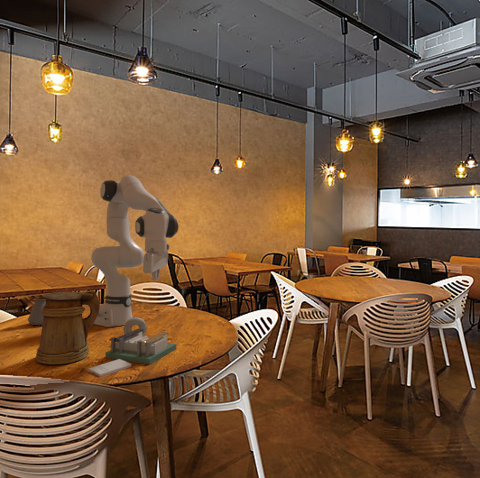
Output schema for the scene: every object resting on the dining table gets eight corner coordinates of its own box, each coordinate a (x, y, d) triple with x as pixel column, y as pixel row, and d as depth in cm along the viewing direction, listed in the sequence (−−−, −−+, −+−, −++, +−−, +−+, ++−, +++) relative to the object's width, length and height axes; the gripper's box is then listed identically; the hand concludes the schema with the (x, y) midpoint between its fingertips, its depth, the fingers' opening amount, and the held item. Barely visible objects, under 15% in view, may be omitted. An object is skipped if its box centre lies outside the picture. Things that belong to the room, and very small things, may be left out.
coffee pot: (30, 328, 197) (29, 297, 196) (26, 323, 206) (25, 293, 206) (76, 321, 210) (75, 292, 209) (70, 317, 219) (70, 289, 218)
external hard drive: (131, 368, 148) (100, 378, 138) (118, 362, 153) (87, 372, 144) (131, 363, 148) (100, 373, 138) (118, 358, 153) (87, 367, 144)
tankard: (31, 355, 159) (29, 292, 157) (92, 344, 173) (91, 285, 171) (41, 369, 144) (40, 299, 143) (107, 356, 159) (106, 292, 157)
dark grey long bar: (113, 343, 157) (113, 338, 157) (138, 332, 172) (138, 327, 172) (118, 344, 156) (118, 339, 156) (143, 333, 171) (143, 328, 171)
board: (105, 357, 157) (105, 338, 157) (135, 343, 175) (135, 325, 174) (149, 364, 150) (149, 344, 149) (176, 348, 167) (176, 330, 167)
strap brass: (139, 347, 153) (139, 341, 152) (163, 335, 167) (163, 330, 167) (145, 348, 152) (145, 342, 152) (168, 336, 167) (168, 331, 166)
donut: (124, 342, 176) (124, 319, 175) (123, 340, 179) (122, 317, 178) (147, 339, 180) (147, 317, 180) (145, 337, 183) (145, 315, 183)
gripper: (154, 250, 161) (154, 285, 162) (170, 244, 181) (170, 275, 182) (138, 250, 161) (139, 284, 163) (156, 244, 182) (156, 275, 183)
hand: (155, 279), depth 173 cm, fingers closed
